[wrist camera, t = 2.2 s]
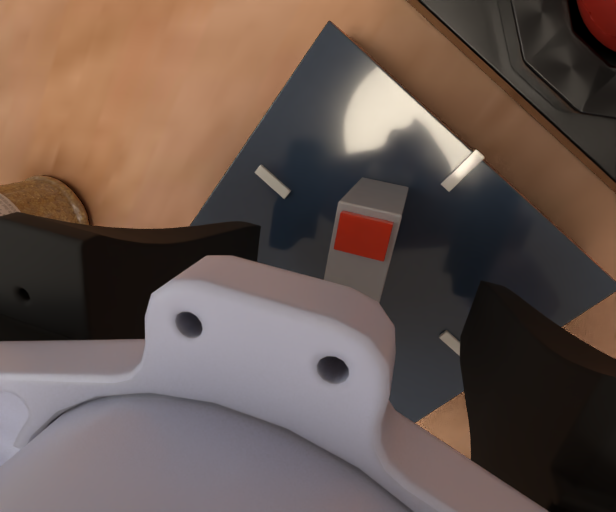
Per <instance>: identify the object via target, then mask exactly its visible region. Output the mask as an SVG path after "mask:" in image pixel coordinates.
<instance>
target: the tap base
mask: <svg viewBox="0 0 616 512" xmlns="http://www.w3.org/2000/svg"><path fill="white" fill-rule="evenodd" d="M484 158H485V157H484V156H483V155H482V154H481V153H480V152H479V151H478V150H477V149H475V150H473V149H472V148H471V147H470V146H468V145H467V144H466V143H465V142H464V141H463V140H462V139H461V138H460V137H459V136H457V135H456V134H455V133H454V132H453V131H452V130H451V129H450V128H449V127H448V126H447V125H445V124H444V123H443V122H442V121H441V120H440V119H439V118H438V117H437V116H436V115H434V114H433V113H432V112H431V111H430V110H429V109H428V108H427V107H426V106H425V105H424V104H422V103H421V102H420V101H419V100H418V99H417V98H416V97H415V96H414V95H413V94H411V93H410V92H409V91H408V90H407V89H406V88H405V87H404V86H403V85H402V84H401V83H399V82H398V81H397V80H396V79H395V78H394V77H393V76H392V75H391V74H390V73H388V72H387V71H386V70H385V69H384V68H383V67H382V66H381V65H380V64H379V63H377V62H376V61H375V60H374V59H373V58H372V57H371V56H370V55H369V54H368V53H367V52H365V51H364V50H363V49H362V48H361V47H360V46H359V45H358V44H357V43H356V42H354V41H353V40H352V39H351V38H350V37H349V36H348V35H347V34H345V33H344V32H343V31H342V30H341V29H339V28H338V27H337V26H336V25H335V24H333V23H332V22H331V21H328V22H327V24H326V25H325V27H324V28H323V30H322V31H321V33H320V34H319V36H318V37H317V38H316V40H315V41H314V43H313V44H312V46H311V47H310V49H309V50H308V52H307V53H306V55H305V56H304V58H303V59H302V61H301V62H300V64H299V65H298V67H297V68H296V70H295V71H294V72H293V74H292V75H291V77H290V78H289V80H288V81H287V83H286V84H285V86H284V87H283V89H282V90H281V92H280V93H279V95H278V96H277V98H276V99H275V101H274V102H273V103H272V105H271V106H270V108H269V109H268V111H267V112H266V114H265V115H264V117H263V118H262V120H261V121H260V123H259V124H258V126H257V127H256V129H255V130H254V132H253V133H252V135H251V136H250V137H249V139H248V140H247V142H246V143H245V145H244V146H243V148H242V149H241V151H240V152H239V154H238V155H237V157H236V158H235V160H234V161H233V163H232V164H231V166H230V167H229V168H228V170H227V171H226V173H225V174H224V176H223V177H222V179H221V180H220V182H219V183H218V185H217V186H216V188H215V189H214V191H213V192H212V194H211V195H210V197H209V198H208V199H207V201H206V202H205V204H204V205H203V207H202V208H201V210H200V211H199V213H198V214H197V216H196V217H195V219H194V220H193V222H192V223H191V225H190V226H199V225H206V224H214V223H222V222H232V221H242V222H248V223H252V224H256V225H260V226H261V230H260V239H259V248H258V257H257V262H258V263H262V264H266V265H269V266H273V267H277V268H281V269H284V270H288V271H292V272H296V273H299V274H303V275H307V276H310V277H314V278H318V279H322V280H324V275H325V269H326V264H327V259H328V253H329V248H330V243H331V237H332V232H333V227H334V221H335V216H336V211H337V205H338V202H339V201H340V199H341V198H342V197H343V196H344V195H345V194H346V193H347V192H348V191H349V190H350V189H351V188H352V187H353V186H354V185H355V184H356V183H357V182H358V181H359V179H360V178H362V177H363V178H368V179H372V180H377V181H382V182H387V183H392V184H396V185H401V186H406V187H409V191H408V195H407V199H406V203H405V207H404V211H403V215H402V219H401V223H400V226H399V230H398V234H397V238H396V242H395V246H394V250H393V253H392V257H391V261H390V265H389V269H388V273H387V277H386V281H385V284H384V288H383V292H382V296H381V300H380V305H381V307H382V308H383V310H384V311H385V313H386V314H387V316H388V317H389V319H390V320H391V322H392V323H393V325H394V326H395V347H396V354H395V362H394V369H393V376H392V383H391V391H390V396H389V401H390V403H391V404H392V406H393V407H394V409H395V410H396V411H397V412H399V413H400V414H402V415H403V416H405V417H406V418H408V419H409V420H411V421H412V422H414V423H416V422H417V421H419V420H420V419H422V418H423V417H425V416H426V415H428V414H429V413H431V412H432V411H434V410H435V409H437V408H438V407H440V406H442V405H443V404H445V403H446V402H448V401H449V400H451V399H452V398H454V397H455V396H457V395H458V394H460V393H461V392H463V391H464V387H463V380H462V374H461V367H460V336H461V333H462V330H463V328H464V325H465V322H466V319H467V317H468V314H469V311H470V309H471V306H472V303H473V300H474V298H475V295H476V292H477V290H478V287H479V284H480V281H481V280H482V281H486V282H490V283H494V284H498V285H502V286H504V287H506V288H508V289H510V290H511V291H513V292H514V293H515V294H517V295H518V296H520V297H521V298H522V299H523V300H525V301H526V302H527V303H529V304H530V305H531V306H533V307H534V308H535V309H537V310H538V311H539V312H540V313H542V314H543V315H544V316H546V317H547V318H549V319H550V320H551V321H553V322H554V323H556V324H557V325H559V326H560V327H562V326H564V325H565V324H567V323H568V322H570V321H571V320H573V319H575V318H576V317H578V316H579V315H581V314H582V313H584V312H585V311H587V310H588V309H590V308H591V307H593V306H594V305H596V304H597V303H599V302H601V301H602V300H604V299H605V298H607V297H608V296H610V295H611V294H613V293H614V292H616V281H615V280H614V279H613V278H612V277H611V276H610V275H609V274H608V273H607V272H606V271H605V270H604V269H603V268H601V267H600V266H599V265H598V264H597V263H596V262H595V261H594V260H593V259H592V258H591V257H590V256H589V255H588V254H587V253H586V252H585V251H584V250H582V249H581V248H580V247H579V246H578V245H577V244H576V243H575V242H574V241H573V240H571V239H570V238H569V237H568V236H567V235H566V234H565V233H564V232H563V231H562V230H561V229H559V228H558V227H557V226H556V225H555V224H554V223H553V222H552V221H551V220H550V219H548V218H547V217H546V216H545V215H544V214H543V213H542V212H541V211H540V210H539V209H538V208H536V207H535V206H534V205H533V204H532V203H531V202H530V201H529V200H528V199H527V198H525V197H524V196H523V195H522V194H521V193H520V192H519V191H518V190H517V189H516V188H514V187H513V186H512V185H511V184H510V183H509V182H508V181H507V180H506V179H505V178H504V177H502V176H501V175H500V174H499V173H498V172H497V171H496V170H495V169H494V168H493V167H491V166H490V165H489V164H488V163H487V162H486V161H485V160H484Z"/></svg>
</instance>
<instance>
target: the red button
mask: <svg viewBox="0 0 616 512" xmlns="http://www.w3.org/2000/svg"><path fill="white" fill-rule="evenodd" d="M576 1H577V5H578V9H579V12H580V15H581V17H582V19H583V22H584V23H585V25H586V27H587V28H588V30H589V31H590V32H591V34H592V35H593V36H594V37H595V38H596V39H597V40H598V41H599V42H600V43H602V44H603V45H604V46H606V47H607V48H609V49H611V50H613V51H614V52H616V0H576Z"/></svg>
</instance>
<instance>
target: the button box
mask: <svg viewBox="0 0 616 512" xmlns="http://www.w3.org/2000/svg"><path fill="white" fill-rule="evenodd" d="M406 1H407V2H408V3H409V4H410V5H412V6H413V7H414V8H415V9H416V10H417V11H418V12H419V13H420V14H421V15H422V16H423V17H425V18H426V19H427V20H428V21H429V22H430V23H431V24H432V25H433V26H434V27H435V28H437V29H438V30H439V31H440V32H441V33H442V34H443V35H444V36H445V37H446V38H447V39H448V40H450V41H451V42H452V43H453V44H454V45H455V46H456V47H457V48H458V49H459V50H460V51H462V52H463V53H464V54H465V55H466V56H467V57H468V58H469V59H470V60H471V61H472V62H473V63H475V64H476V65H477V66H478V67H479V68H480V69H481V70H482V71H483V72H484V73H485V74H487V75H488V76H489V77H490V78H491V79H492V80H493V81H494V82H495V83H496V84H497V85H499V86H500V87H501V88H502V89H503V90H504V91H505V92H506V93H507V94H508V95H509V96H510V97H512V98H513V99H514V100H515V101H516V102H517V103H518V104H519V105H520V106H521V107H522V108H524V109H525V110H526V111H527V112H528V113H529V114H530V115H531V116H532V117H533V118H534V119H535V120H537V121H538V122H539V123H540V124H541V125H542V126H543V127H544V128H545V129H546V130H547V131H549V132H550V133H551V134H552V135H553V136H554V137H555V138H556V139H557V140H558V141H559V142H560V143H562V144H563V145H564V146H565V147H566V148H567V149H568V150H569V151H570V152H571V153H572V154H574V155H575V156H576V157H577V158H578V159H579V160H580V161H581V162H582V163H583V164H584V165H585V166H587V167H588V168H589V169H590V170H591V171H592V172H593V173H594V174H595V175H596V176H597V177H599V178H600V179H601V180H602V181H603V182H604V183H605V184H606V185H607V186H608V187H609V188H611V189H612V190H613V191H614V192H615V193H616V52H614V51H613V50H611V49H609V48H607V47H606V46H604V45H603V44H602V43H600V42H599V41H598V40H597V39H596V38H595V37H594V36H593V35H592V34H591V32H590V31H589V30H588V28H587V27H586V25H585V23H584V22H583V19H582V17H581V15H580V12H579V9H578V5H577V1H576V0H406Z"/></svg>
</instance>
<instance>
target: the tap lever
mask: <svg viewBox="0 0 616 512" xmlns="http://www.w3.org/2000/svg"><path fill="white" fill-rule="evenodd" d="M408 191H409V187H406V186H401V185H396V184H392V183H387V182H382V181H377V180H372V179H368V178H363V177H362V178H360V179H359V181H358V182H357V183H356V184H355V185H354V186H353V187H352V188H351V189H350V190H349V191H348V192H347V193H346V194H345V195H344V196H343V197H342V198H341V199H340V201H339V202H338V205H337V211H336V216H335V221H334V227H333V232H332V237H331V243H330V248H329V253H328V259H327V264H326V269H325V275H324V280H325V281H329V282H333V283H337V284H340V285H344V286H348V287H351V288H353V289H355V290H357V291H359V292H360V293H362V294H364V295H366V296H368V297H370V298H372V299H373V300H375V301H377V302H379V304H380V300H381V296H382V292H383V288H384V284H385V281H386V277H387V273H388V269H389V265H390V261H391V257H392V253H393V250H394V246H395V242H396V238H397V234H398V230H399V226H400V223H401V219H402V215H403V211H404V207H405V203H406V199H407V195H408Z"/></svg>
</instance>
